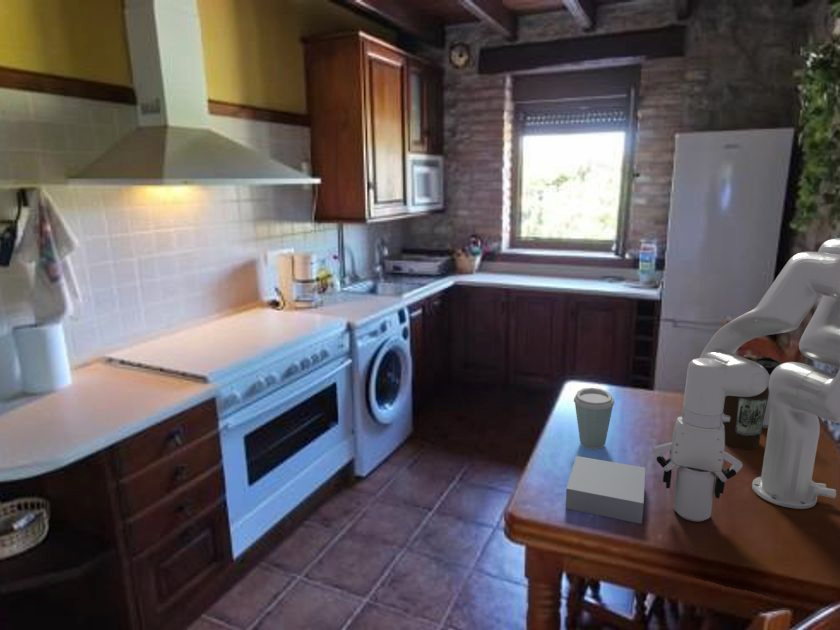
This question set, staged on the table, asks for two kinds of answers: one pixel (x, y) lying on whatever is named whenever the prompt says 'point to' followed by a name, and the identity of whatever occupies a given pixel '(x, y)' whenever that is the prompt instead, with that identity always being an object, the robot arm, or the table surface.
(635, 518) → the grey block
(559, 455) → the table surface
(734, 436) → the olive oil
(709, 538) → the table surface
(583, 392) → the disposable coffee cup
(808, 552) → the table surface
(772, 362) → the travel mug
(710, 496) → the can
